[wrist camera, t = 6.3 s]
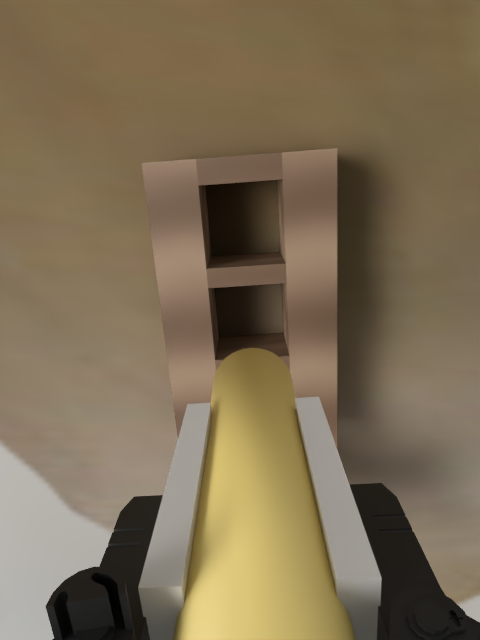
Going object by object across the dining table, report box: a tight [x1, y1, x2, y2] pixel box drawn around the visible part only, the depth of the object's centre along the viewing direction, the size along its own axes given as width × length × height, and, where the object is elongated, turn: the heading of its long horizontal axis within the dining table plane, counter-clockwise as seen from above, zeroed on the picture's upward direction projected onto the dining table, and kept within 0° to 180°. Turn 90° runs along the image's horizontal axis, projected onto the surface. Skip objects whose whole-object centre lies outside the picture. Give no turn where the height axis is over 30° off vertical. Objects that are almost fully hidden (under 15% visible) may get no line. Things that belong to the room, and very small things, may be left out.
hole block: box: [142, 148, 337, 448], centre depth 26 cm, size 18×10×4 cm, turn 4°
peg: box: [173, 348, 356, 640], centre depth 12 cm, size 3×3×12 cm
